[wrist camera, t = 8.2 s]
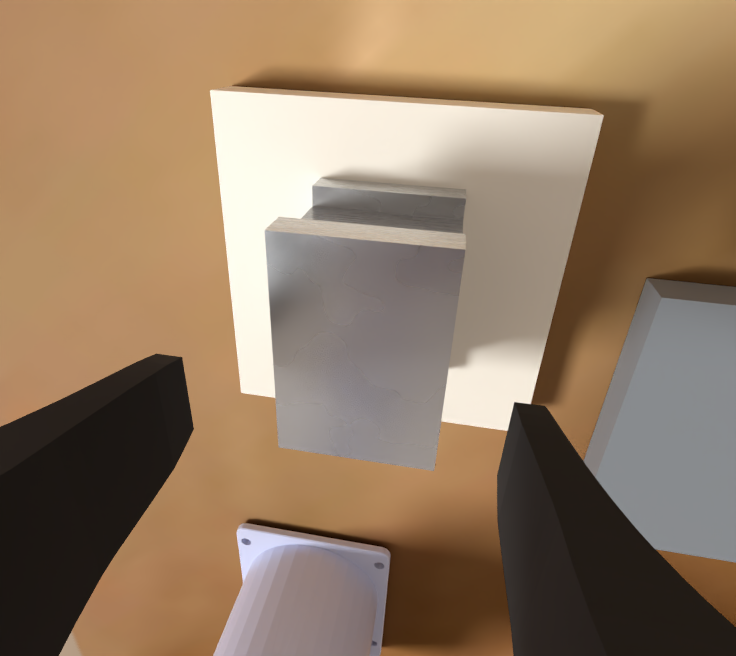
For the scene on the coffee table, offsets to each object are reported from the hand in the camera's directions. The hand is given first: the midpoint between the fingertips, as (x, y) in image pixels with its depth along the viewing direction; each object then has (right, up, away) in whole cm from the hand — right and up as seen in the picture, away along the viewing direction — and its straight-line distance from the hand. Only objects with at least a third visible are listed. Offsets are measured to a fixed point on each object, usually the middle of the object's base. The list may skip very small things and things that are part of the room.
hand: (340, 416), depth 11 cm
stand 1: (+1, +4, +7) cm, 8 cm away
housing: (+1, +3, +6) cm, 7 cm away
